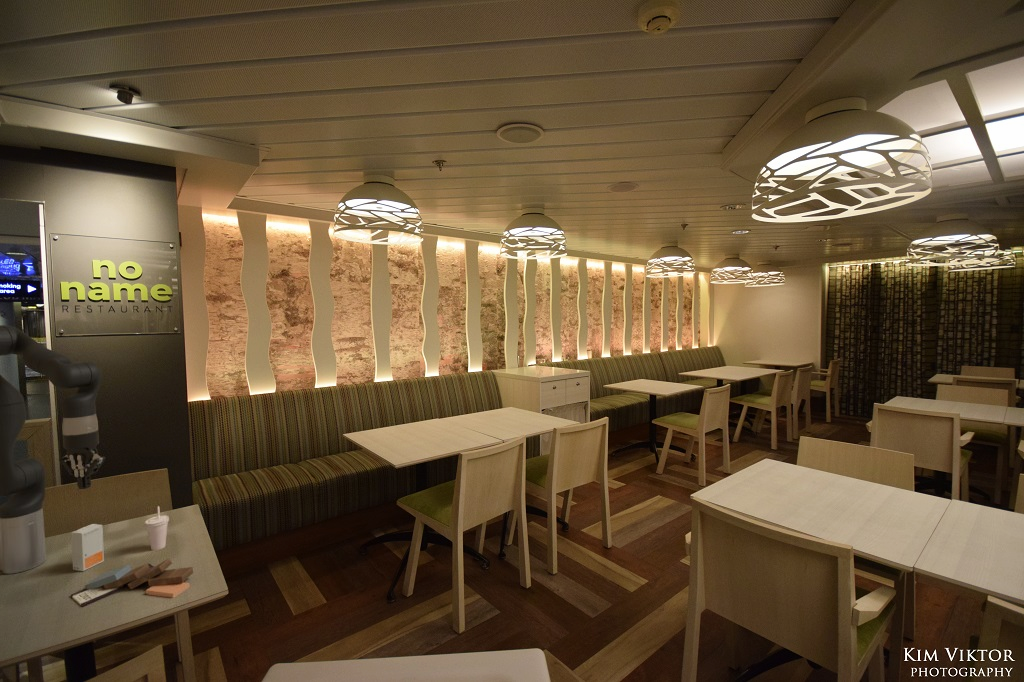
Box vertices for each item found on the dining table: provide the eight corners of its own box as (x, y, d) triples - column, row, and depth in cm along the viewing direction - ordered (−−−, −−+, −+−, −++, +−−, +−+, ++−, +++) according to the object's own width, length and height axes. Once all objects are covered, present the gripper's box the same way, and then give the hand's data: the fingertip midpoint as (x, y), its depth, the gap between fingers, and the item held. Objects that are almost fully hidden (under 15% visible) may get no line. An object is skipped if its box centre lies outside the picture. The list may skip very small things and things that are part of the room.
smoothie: (173, 545, 151) (171, 505, 150) (150, 554, 145) (148, 512, 145) (165, 540, 154) (163, 501, 153) (142, 548, 149) (140, 508, 148)
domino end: (146, 590, 125) (173, 593, 123) (162, 579, 130) (189, 583, 128) (146, 596, 125) (173, 599, 123) (163, 585, 130) (189, 589, 128)
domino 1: (84, 585, 126) (114, 574, 126) (100, 574, 131) (129, 564, 131) (87, 591, 126) (117, 580, 126) (102, 580, 131) (131, 569, 131)
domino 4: (148, 580, 127) (181, 576, 127) (160, 570, 132) (192, 566, 132) (148, 586, 127) (182, 582, 127) (161, 576, 132) (193, 572, 132)
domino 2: (103, 585, 126) (134, 573, 127) (118, 574, 131) (147, 563, 132) (106, 590, 126) (137, 578, 127) (120, 580, 131) (150, 568, 132)
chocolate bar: (162, 571, 135) (82, 605, 119) (162, 574, 135) (83, 608, 119) (148, 563, 139) (70, 594, 124) (148, 566, 139) (70, 597, 124)
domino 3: (127, 584, 126) (159, 566, 128) (138, 575, 131) (169, 558, 133) (131, 589, 126) (162, 571, 128) (142, 580, 131) (172, 563, 133)
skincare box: (83, 571, 136) (81, 533, 135) (72, 570, 137) (70, 532, 136) (105, 561, 142) (103, 524, 141) (94, 559, 142) (92, 523, 142)
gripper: (113, 427, 134) (117, 484, 135) (74, 426, 135) (77, 482, 136) (87, 434, 126) (91, 494, 128) (46, 433, 128) (50, 492, 129)
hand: (84, 488), depth 132 cm, fingers closed
